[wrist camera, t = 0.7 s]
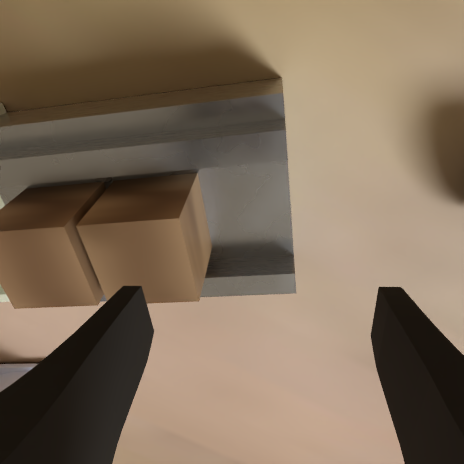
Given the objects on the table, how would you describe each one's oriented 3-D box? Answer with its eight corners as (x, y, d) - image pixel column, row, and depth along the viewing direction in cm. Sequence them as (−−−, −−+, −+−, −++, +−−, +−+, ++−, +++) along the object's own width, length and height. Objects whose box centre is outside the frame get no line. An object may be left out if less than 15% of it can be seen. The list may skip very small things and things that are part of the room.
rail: (75, 267, 25) (39, 317, 21) (6, 112, 20) (-58, 142, 16) (293, 255, 23) (297, 308, 19) (281, 77, 17) (283, 102, 14)
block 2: (136, 251, 20) (108, 304, 16) (113, 180, 18) (75, 225, 14) (212, 246, 19) (199, 301, 16) (197, 172, 17) (178, 218, 14)
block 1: (57, 255, 20) (14, 308, 17) (25, 188, 18) (-30, 233, 15) (127, 251, 20) (97, 305, 17) (103, 181, 18) (63, 226, 14)
